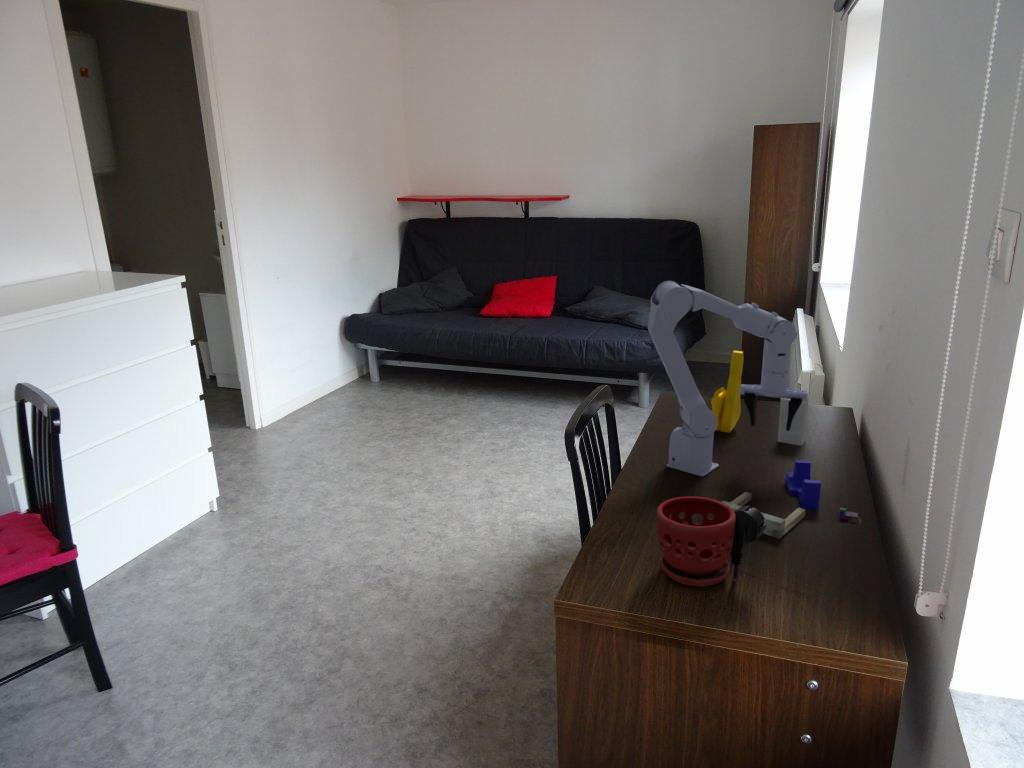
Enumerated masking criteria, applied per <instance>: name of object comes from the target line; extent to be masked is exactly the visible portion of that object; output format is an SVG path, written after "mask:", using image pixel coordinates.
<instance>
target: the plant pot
mask: <svg viewBox="0 0 1024 768" xmlns="http://www.w3.org/2000/svg"><path fill="white" fill-rule="evenodd" d="M681 513H684V516H683V517H681V518H680V517H679V515H680V514H681ZM697 514H698V515H700V516H701V517H702V518H703V522H702V523H696V522H694V521H693V519H692V518H693V516H694V515H697ZM709 514H712V515H713V518H711V517H710V516H709ZM670 515H671V516H670ZM720 521H721V522H722V523H720ZM684 522H685V523H686V522H687V523H688V524H685V523H684ZM735 524H736V515H735V512H734V511H733V509H732V508H731V507H729V506H728V505H726V504H724V503H722V501H719V500H716V499H713V498H709V497H704V496H702V497H701V496H690V495H689V496H678V497H674V498H670V499H667V500H665V501H663V502H662V503H660V504H659V506H658V507H657V508H656V532H657V539H658V544H659V549H660V551H661V553H662V557H661V558H660V567H661V569H662V571H663V572H664V574H665V575H667V577H669V578H670V579H672V580H674V581H675V582H677V583H679V584H683V585H686V586H692V587H709V586H713V585H716V584H718V583H721V582H722V581H723V580H725V579H726V578H727V576H728V575H729V573H730V570H731V569H730V568H731V567H730V563H729V561H728V559H729V557H730V555H731V554H730V553H731V550H732V547H733V537H734V533H735Z"/></svg>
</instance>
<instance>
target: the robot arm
mask: <svg viewBox="0 0 1024 768" xmlns="http://www.w3.org/2000/svg"><path fill="white" fill-rule="evenodd" d="M701 309H704V310H707V311H708V312H711V313H715V314H717V315H720V316H723V317H725V318H728V319H731V320H732V322H733V325H734V327H735V328H736V329H739V330H742V331H745V332H747V333H749V334H751V335H754V336H756V337H759V338H764V341H763V342H764V343H763V353H762V366H761V367H762V368H761V380H760V384H745V383H741V386H740V395H744V397H743V402H744V404H745V405H746V408H747V411H748V415H749V418H750V419H749V420H750V425H751V427H754V426H756V424H757V406H758V398H759V397H760V396H761V397H770V398H779V399H781V398H785V399H791V400H790V401H789V403H788V420H787V425H786V430H787V431H790V428H791V424H792V420H793V418H794V415H795V413H796V412H797V410H798V408H799V407H800V405H801V403H802V401H803V402H807V400H808V401H809V399H808V398H809V391H808V390H801V389H796V388H791V387H788V385H789V374H790V363H791V353H792V352H791V351H792V344H793V343H794V342H795V340H796V339H797V337H798V332H797V330H796V327H795V325H794V323H793V322H792V321H790V320H788V319H786V318H784V317H782V316H780V315H779V313H778V312H775V311H771V312H769V311H766V310H764V309H761V308H760V305H759V304H757V303H755V302H751V304H750V303H743V304H739V305H736V304H735V303H732V302H730V301H727V300H725V299H723V298H720V297H718V296H715V295H714V294H711V293H710V292H707V291H705V290H702V289H700V288H696V287H693V286H690V285H687V284H682V283H681V284H680V285H679V283H677V282H676V281H673V280H666V281H663V282H661V283H660V284H658V285H657V287H656V288H655V290H654V291H653V293H652V295H651V297H650V309H649V310H650V311H649V318H648V322H647V323H648V325H647V329H648V333H649V335H650V337H651V340H652V341H653V345H654V347H655V349H656V352H657V353H658V356H659V358H660V360H661V362H662V365H663V367H664V368H665V371H666V374H667V376H668V378H669V380H670V382H671V384H672V387H673V389H674V391H675V394H676V395H677V401H678V404H679V416H680V418H681V420H682V421H683V424H682V426H678V427H675V428H674V429H673V431H672V432H671V434H670V437H669V441H668V442H669V443H668V444H669V445H668V463H667V464H666V467H668V468H672V469H675V470H679V471H682V472H686V473H689V474H691V475H695V476H699V477H705V476H706V475H708V474H710V472H712V471H714V470H715V469H717V468H718V467H720V464H719V463H716V462H713V451H714V450H713V449H714V434H715V431H717V430H716V428H717V424H718V420H717V417H716V415H715V414H714V413H713V412H712V410H711V409H709V407H708V406H707V403H706V401H705V400H704V398H703V397H702V394H701V393H700V391H699V388H698V386H697V384H696V382H695V379H694V377H693V375H692V373H691V370H690V368H689V366H688V364H687V361H686V359H685V357H684V354H683V352H682V349H681V347H680V345H679V343H678V340H677V338H676V336H675V334H674V330H675V329H676V327H677V324H678V323H679V321H680V320H681V319H683V317H685V315H687V314H688V313H689V311H692V312H697V311H699V310H701Z"/></svg>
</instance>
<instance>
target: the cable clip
mask: <svg viewBox="0 0 1024 768" xmlns="http://www.w3.org/2000/svg"><path fill="white" fill-rule="evenodd" d="M811 466H812V463H811V461H810V460H808V459H807V460H805V459H795V460H794V466H793V471H791V472H790V471H789V472H788V471H787V472H786V473H785V484H786V488H787V490H788V494H789V495H790V496H797V497H798V500H799V502H800V505H801V508H802V509H806V510H819V506H820V497H821V489H822V487H821V486H822V482H821V480H820V479H811Z"/></svg>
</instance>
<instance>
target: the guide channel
mask: <svg viewBox="0 0 1024 768" xmlns="http://www.w3.org/2000/svg"><path fill="white" fill-rule="evenodd" d="M750 501H752V493H750V492H747V491H744V492H743V493H742V494H741V495H739V496H738V497H736V498H735V499H733V500H731V501H729V502H728V501H727V500H726V501H725V500H722V501H721V502H722V503H724V504H726V505H728V506H729V507H731V508H732V509H733V511H736V510H737V509H739V508H740V507H742V506H746V504H747V503H749V502H750ZM806 510H807V509H803V508H802V507H798V508H796V509H795V510H794V511H793V512H792V513H790V514H789V515H788V516H787V517H785V518H781V517H777V516H775V515H771V514H768V513H765V512H762V511H760V512H761V513H762V515H763V516H764V517H766V521H764V524H766V529H765V530H764V532H763V534H764V535H767V536H770V537H773V538H776V539H781V538H782V537H784V535H786V533H788V532H789V531H791V529H793V527H795V525H797V524H798V523H799V522H800V521H802V519H804V518H805V517H806Z"/></svg>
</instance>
